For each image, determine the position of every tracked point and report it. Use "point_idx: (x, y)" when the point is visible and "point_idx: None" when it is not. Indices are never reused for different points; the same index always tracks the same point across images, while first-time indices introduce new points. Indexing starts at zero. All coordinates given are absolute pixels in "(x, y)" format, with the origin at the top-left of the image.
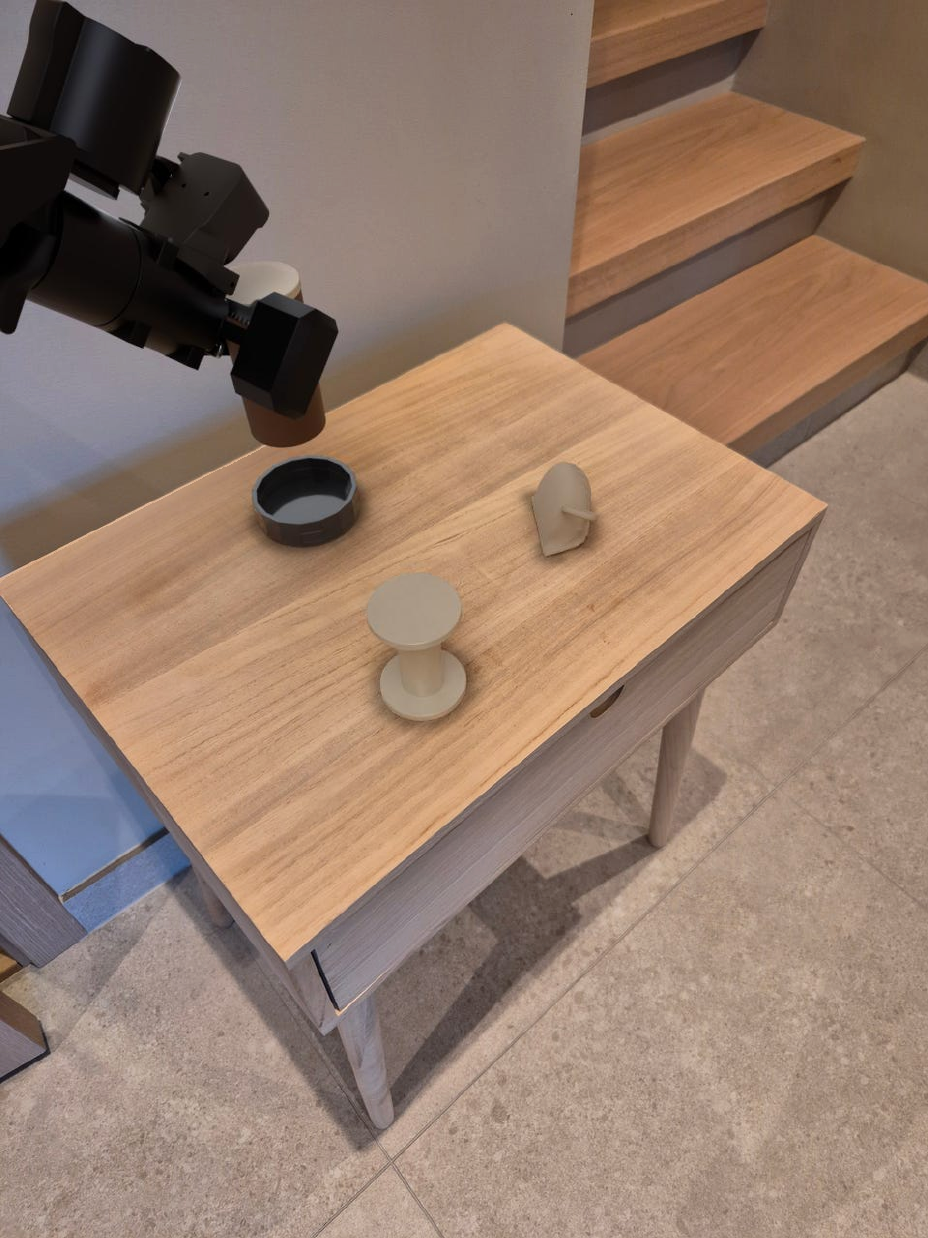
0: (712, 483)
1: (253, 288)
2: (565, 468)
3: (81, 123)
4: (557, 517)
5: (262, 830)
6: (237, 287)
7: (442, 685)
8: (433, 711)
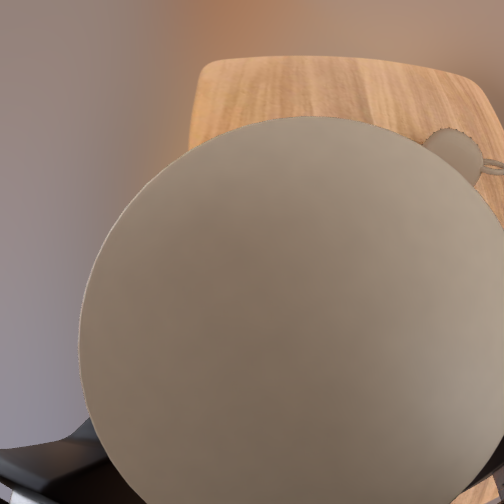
0: (443, 87)
1: (389, 406)
2: (461, 137)
3: None
4: (477, 178)
5: (493, 480)
6: (300, 468)
7: None
8: None
